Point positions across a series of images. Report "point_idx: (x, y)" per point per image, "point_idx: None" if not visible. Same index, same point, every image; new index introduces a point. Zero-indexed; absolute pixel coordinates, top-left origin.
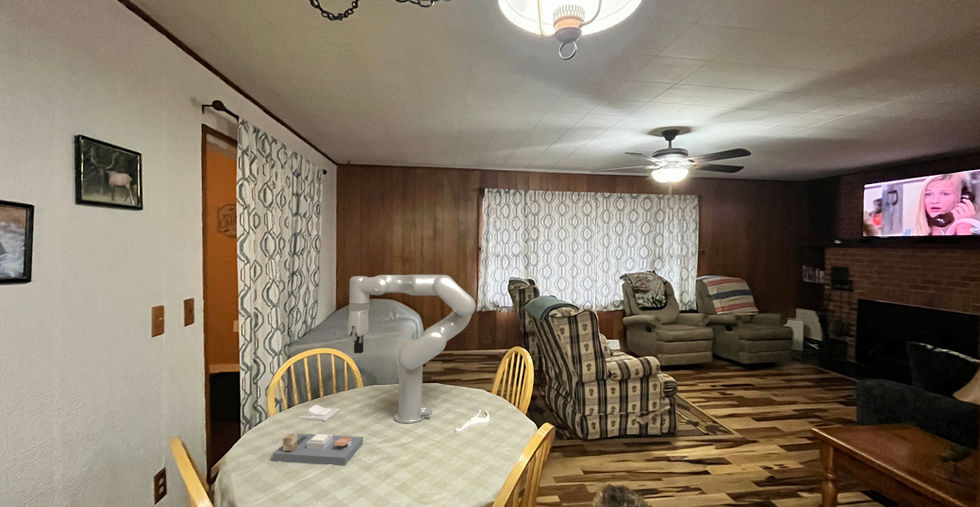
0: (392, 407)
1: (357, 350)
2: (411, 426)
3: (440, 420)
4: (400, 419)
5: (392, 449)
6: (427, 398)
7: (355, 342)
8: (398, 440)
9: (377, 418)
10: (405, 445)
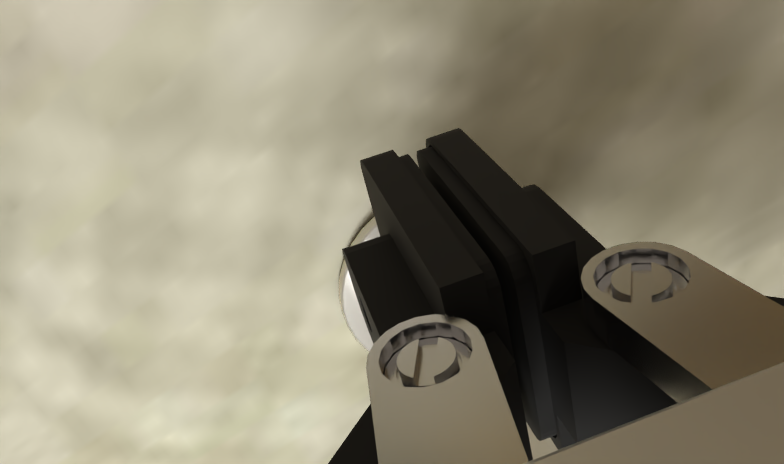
0: (547, 78)
1: (359, 300)
2: (324, 354)
3: None
4: (349, 284)
5: (30, 438)
6: (732, 198)
7: (364, 438)
8: (136, 401)
9: (344, 102)
10: (108, 460)
